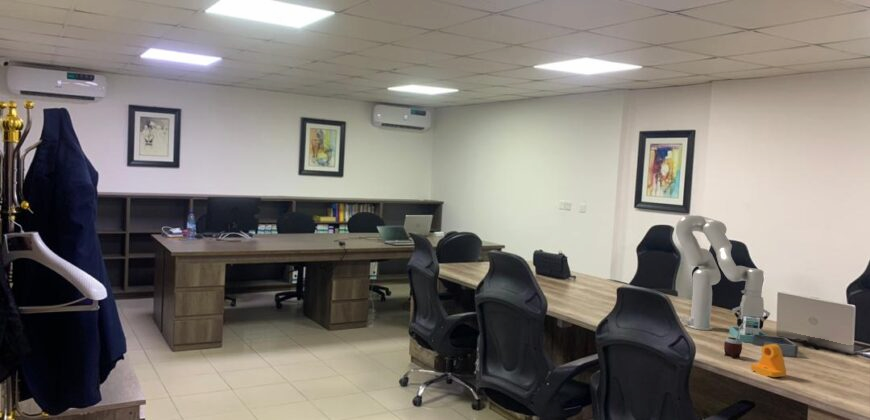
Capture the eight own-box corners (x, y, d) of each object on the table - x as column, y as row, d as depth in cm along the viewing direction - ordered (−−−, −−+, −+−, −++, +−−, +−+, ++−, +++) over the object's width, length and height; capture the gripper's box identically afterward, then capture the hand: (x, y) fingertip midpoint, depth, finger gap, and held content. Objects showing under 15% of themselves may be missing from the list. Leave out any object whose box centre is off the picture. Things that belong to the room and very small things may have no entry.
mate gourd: (723, 357, 273) (727, 323, 272) (722, 352, 280) (725, 319, 279) (742, 360, 270) (746, 325, 269) (741, 355, 277) (744, 322, 277)
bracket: (749, 370, 255) (752, 341, 254) (761, 369, 258) (764, 340, 257) (773, 379, 245) (776, 349, 244) (785, 377, 248) (788, 348, 247)
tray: (739, 341, 304) (739, 334, 303) (728, 332, 321) (729, 326, 321) (770, 344, 301) (770, 337, 301) (758, 336, 319) (758, 329, 318)
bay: (764, 353, 284) (765, 342, 283) (752, 344, 300) (753, 334, 299) (797, 357, 281) (798, 346, 281) (783, 347, 297) (784, 337, 297)
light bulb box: (758, 340, 305) (760, 318, 305) (743, 338, 307) (745, 317, 306) (752, 335, 316) (754, 314, 315) (737, 333, 317) (739, 312, 316)
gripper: (736, 293, 308) (733, 327, 309) (774, 296, 305) (770, 331, 306) (732, 290, 315) (729, 323, 316) (769, 294, 312) (765, 327, 313)
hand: (749, 327), depth 311 cm, fingers open, 9 cm apart
